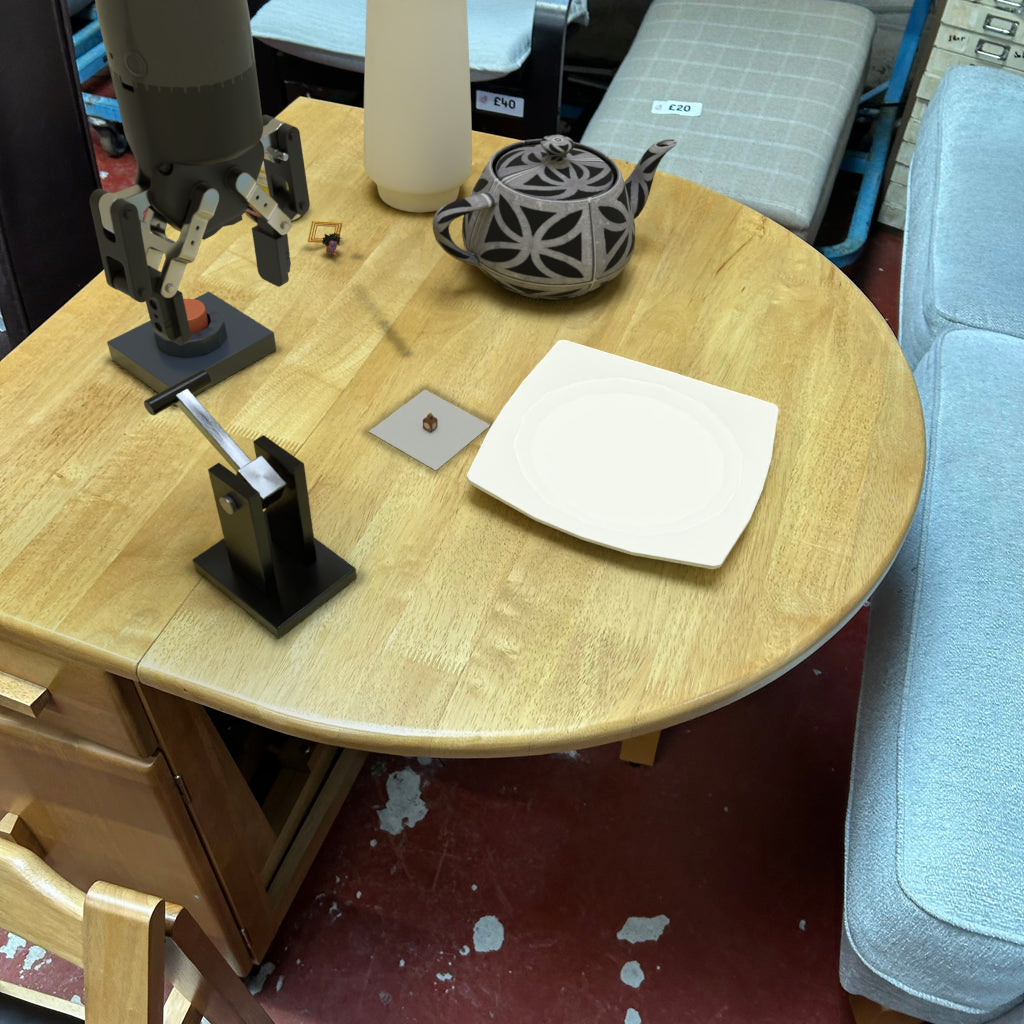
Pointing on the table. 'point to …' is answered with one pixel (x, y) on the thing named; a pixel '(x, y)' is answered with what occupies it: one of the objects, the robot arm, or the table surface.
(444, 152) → the vase
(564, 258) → the teapot
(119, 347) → the button box
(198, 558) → the lever bracket
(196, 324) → the button
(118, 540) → the table surface
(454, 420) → the grey square pad
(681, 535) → the plate
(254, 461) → the press lever
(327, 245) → the figurine with orange frame
